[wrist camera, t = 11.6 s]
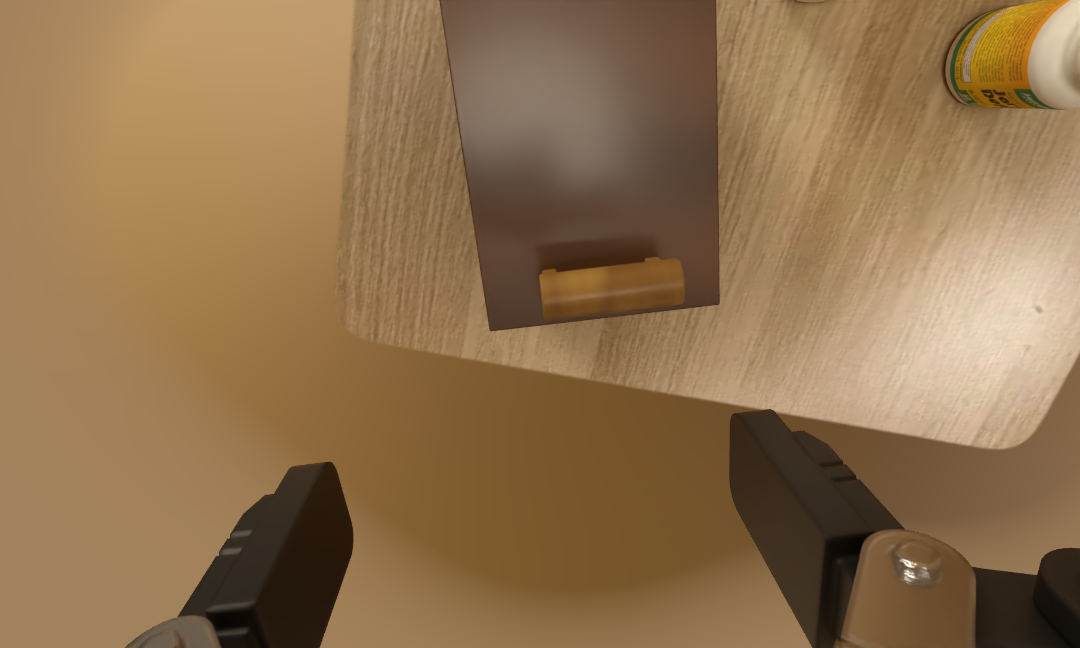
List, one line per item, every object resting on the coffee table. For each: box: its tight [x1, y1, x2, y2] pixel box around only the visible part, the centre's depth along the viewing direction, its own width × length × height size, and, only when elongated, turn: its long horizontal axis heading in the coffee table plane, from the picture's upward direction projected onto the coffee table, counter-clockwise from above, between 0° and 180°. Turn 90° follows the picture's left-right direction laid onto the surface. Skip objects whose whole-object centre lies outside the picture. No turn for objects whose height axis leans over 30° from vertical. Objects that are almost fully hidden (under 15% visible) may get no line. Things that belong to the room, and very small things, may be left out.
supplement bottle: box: [945, 0, 1080, 110], centre depth 30 cm, size 5×5×10 cm
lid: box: [439, 0, 720, 331], centre depth 25 cm, size 16×12×5 cm
